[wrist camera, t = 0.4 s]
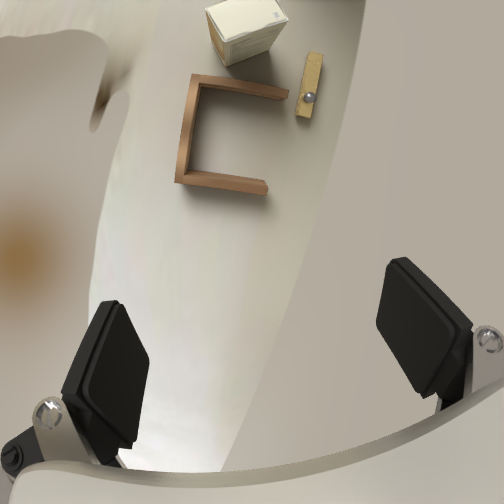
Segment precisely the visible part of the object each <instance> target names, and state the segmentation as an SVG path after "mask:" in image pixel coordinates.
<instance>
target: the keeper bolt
mask: <svg viewBox="0 0 504 504" xmlns="http://www.w3.org/2000/svg"><path fill="white" fill-rule="evenodd" d="M322 60H323V55H322V54H319V53H315V52H312V51H311V52H310V53H308V55H307V60H306V65H305V70H304V75H303V79H302V84H301V89H300V94H299V98H298V103H297V108H296V112H295V115H297V116H301V117H305V118H311V113H312V109H313V104H314V102H315V101H316V95H315V94H316V90H317V85H318V80H319V75H320V70H321V65H322Z"/></svg>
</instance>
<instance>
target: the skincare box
mask: <svg viewBox="0 0 504 504" xmlns="http://www.w3.org/2000/svg"><path fill="white" fill-rule="evenodd" d="M205 11H206V15H207V21H208V26H209V31H210V36H211V41H212V44H213V46H214V48H215V49H216V51H217V53H218V55H219V57H220V59H221V60H222V62H223V64H224V66H226V67H227V66H230V65H232V64H235V63H237V62H240V61H242V60H245V59H247V58H249V57H252V56H254V55H257V54H259V53H262V52H264V51H267V50H269V49H270V47H271V45H272V44H273V42H274V41H275V39H276V38H277V36H278V35H279V33H280V32H281V30H282V29H283V27H284V26H285V24H286V23H287V22H288V20H289V19H288V18H287V16H286V14H285V12H284V11H283V9H282V7H281V6H280V4H279V3H278V1H277V0H223V1H221V2H219V3H216V4H214V5H211V6H209V7H207V8H205Z"/></svg>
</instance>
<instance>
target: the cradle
mask: <svg viewBox="0 0 504 504" xmlns="http://www.w3.org/2000/svg"><path fill="white" fill-rule="evenodd" d="M201 87H205V88H213V89H221V90H228V91H234V92H241V93H246V94H252V95H257V96H262V97H267V98H272V99H276V100H283V99H286V98H287V97H288V93H289V90H287V89H282V88H278V87H274V86H269V85H264V84H259V83H254V82H249V81H243V80H237V79H231V78H224V77H217V76H209V75H199V74H192V75H191V80H190V85H189V90H188V95H187V100H186V106H185V111H184V117H183V123H182V129H181V136H180V142H179V149H178V157H177V164H176V172H175V181H174V183H180V184H189V185H197V186H205V187H213V188H220V189H227V190H234V191H241V192H248V193H254V194H260V195H266V196H267V191H268V186H267V185H266V183H265V182H264V181H263V180H258V179H252V178H246V177H239V176H233V175H226V174H219V173H211V172H204V171H196V170H188V164H189V157H190V150H191V143H192V137H193V131H194V125H195V119H196V113H197V108H198V103H199V97H200V92H201Z"/></svg>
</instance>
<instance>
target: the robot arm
mask: <svg viewBox="0 0 504 504" xmlns="http://www.w3.org/2000/svg"><path fill="white" fill-rule="evenodd" d="M376 326H377V329H378V330H379V332H380V333H381V335H382V337H383V338H384V340H385V341H386V343H387V345H388V346H389V348H390V349H391V351H392V352H393V354H394V356H395V358H396V359H397V361H398V363H399V364H400V366H401V368H402V369H403V371H404V373H405V374H406V376H407V378H408V379H409V381H410V383H411V384H412V386H413V388H414V390H415V391H416V392H417V393H420V394H421V396H422V398H423V399H424V398H427V397H429V396H431V395H433V394H434V393H435V392H436V393H437V395H438V401H437V406H436V411H435V414H434V415H432V416H430V417H428V418H426V419H424V420H422V421H420V422H418V423H416V424H414V425H412V426H409V427H407V428H405V429H403V430H400V431H398V432H396V433H393V434H391V435H388V436H386V437H383V438H381V439H378V440H375V441H372V442H369V443H367V444H364V445H361V446H358V447H355V448H351V449H348V450H345V451H342V452H338V453H335V454H331V455H327V456H323V457H320V458H315V459H311V460H306V461H302V462H297V463H292V464H287V465H281V466H275V467H268V468H261V469H252V470H243V471H231V472H213V473H173V472H156V471H143V470H133V469H127V467H126V466H125V464H124V463H123V461H122V460H121V458H120V457H119V455H118V449H119V448H124V449H132V445H133V442H135V441H136V440H137V435H138V428H139V421H140V414H141V408H142V402H143V396H144V391H145V385H146V380H147V374H148V369H149V357H148V354H147V353H146V351H145V349H144V347H143V345H142V343H141V341H140V339H139V337H138V335H137V333H136V331H135V328H134V326H133V324H132V322H131V320H130V318H129V316H128V313H127V311H126V309H125V307H124V305H123V304H120V303H119V302H118V301H117V300H113V301H103V302H101V303H100V305H99V307H98V309H97V311H96V313H95V315H94V317H93V319H92V321H91V323H90V325H89V327H88V329H87V332H86V334H85V336H84V338H83V340H82V342H81V344H80V347H79V349H78V351H77V353H76V356H75V358H74V360H73V363H72V365H71V367H70V370H69V372H68V375H67V378H66V380H65V382H64V385H63V388H62V390H61V393H62V394H63V396H62V399H60V398H58V397H48V398H45V399H43V400H42V401H40V402H39V403H38V405H37V406H36V407H35V409H34V412H33V417H32V420H33V426H32V427H30V428H29V429H27V430H26V431H24V432H23V433H21V434H20V435H18V436H17V437H15V438H14V439H12V440H10V441H9V442H8V443H7V444H6V445H5V446H4V447H3V449H2V452H1V464H0V504H504V336H503V335H502V334H501V332H500V331H498V330H497V329H495V328H494V327H491V326H480V327H478V328H477V329H476V330H475V332H474V333H473V332H472V331H471V329H472V326H473V323H472V322H471V321H470V320H469V319H468V318H467V317H466V316H465V314H464V313H463V312H462V311H461V310H460V309H459V308H458V307H457V306H456V305H455V304H454V303H453V302H452V301H451V300H450V298H449V297H448V296H447V295H446V294H445V293H444V292H443V291H442V290H441V289H440V288H439V287H438V286H437V285H436V284H435V283H433V281H432V280H431V279H429V278H428V277H427V276H426V275H425V274H424V273H423V272H422V271H421V270H420V269H419V268H418V267H417V266H416V265H415V264H413V263H412V262H411V261H410V260H409V259H408V258H407V257H401V258H396V259H392V260H391V261H390V264H388V265H387V267H386V272H385V278H384V284H383V289H382V295H381V299H380V304H379V309H378V314H377V318H376Z"/></svg>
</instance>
